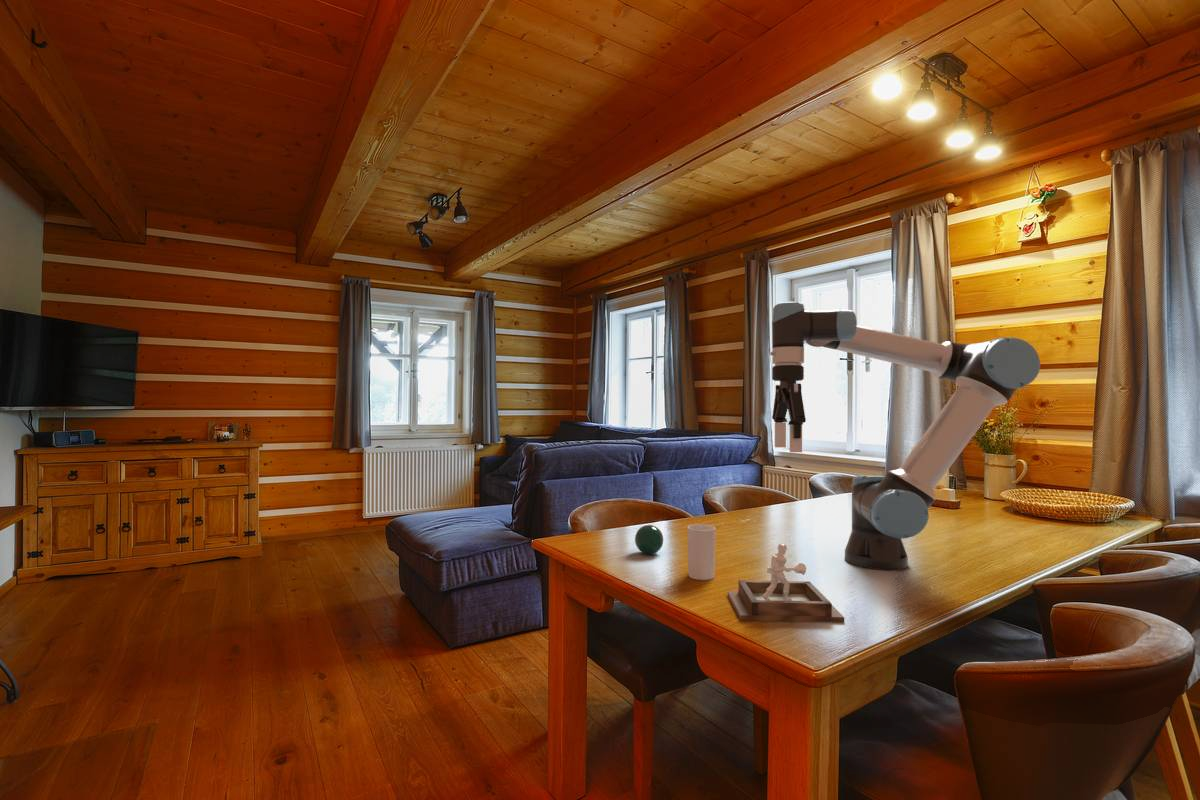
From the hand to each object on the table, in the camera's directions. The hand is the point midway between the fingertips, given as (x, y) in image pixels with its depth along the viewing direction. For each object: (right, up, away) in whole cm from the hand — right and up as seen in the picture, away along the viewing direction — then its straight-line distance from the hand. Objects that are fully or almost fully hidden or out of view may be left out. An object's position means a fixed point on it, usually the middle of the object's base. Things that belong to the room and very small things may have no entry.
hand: (787, 449), depth 142 cm
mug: (-22, -31, -2) cm, 38 cm away
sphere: (-33, -31, +17) cm, 48 cm away
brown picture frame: (-9, -31, -24) cm, 40 cm away
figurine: (-9, -30, -25) cm, 40 cm away
